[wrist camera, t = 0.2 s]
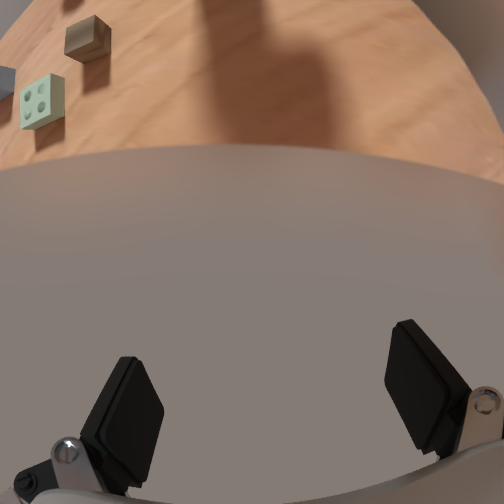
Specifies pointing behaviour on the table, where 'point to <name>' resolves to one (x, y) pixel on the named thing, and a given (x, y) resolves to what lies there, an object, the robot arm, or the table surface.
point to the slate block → (6, 81)
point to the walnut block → (88, 40)
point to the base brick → (42, 102)
